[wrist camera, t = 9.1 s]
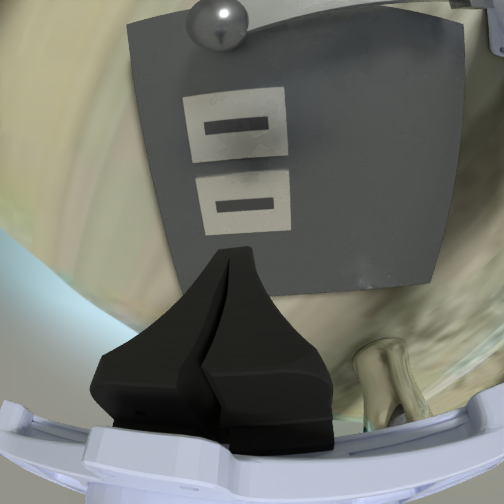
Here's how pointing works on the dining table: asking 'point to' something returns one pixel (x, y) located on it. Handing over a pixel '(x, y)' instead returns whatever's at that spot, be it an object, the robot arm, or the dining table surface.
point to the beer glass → (388, 386)
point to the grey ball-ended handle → (272, 16)
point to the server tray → (306, 145)
